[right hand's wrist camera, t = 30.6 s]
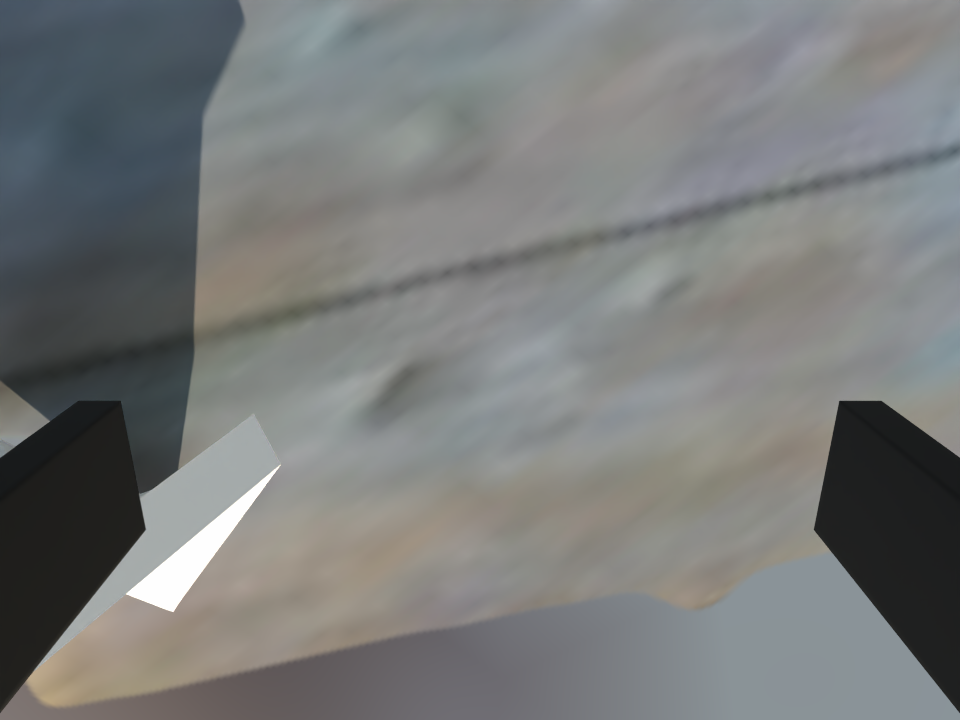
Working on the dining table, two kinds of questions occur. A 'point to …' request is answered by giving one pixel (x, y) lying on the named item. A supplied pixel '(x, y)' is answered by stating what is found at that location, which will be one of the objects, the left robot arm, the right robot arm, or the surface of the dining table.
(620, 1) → the dining table surface
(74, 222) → the dining table surface
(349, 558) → the dining table surface
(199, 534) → the white plastic object
